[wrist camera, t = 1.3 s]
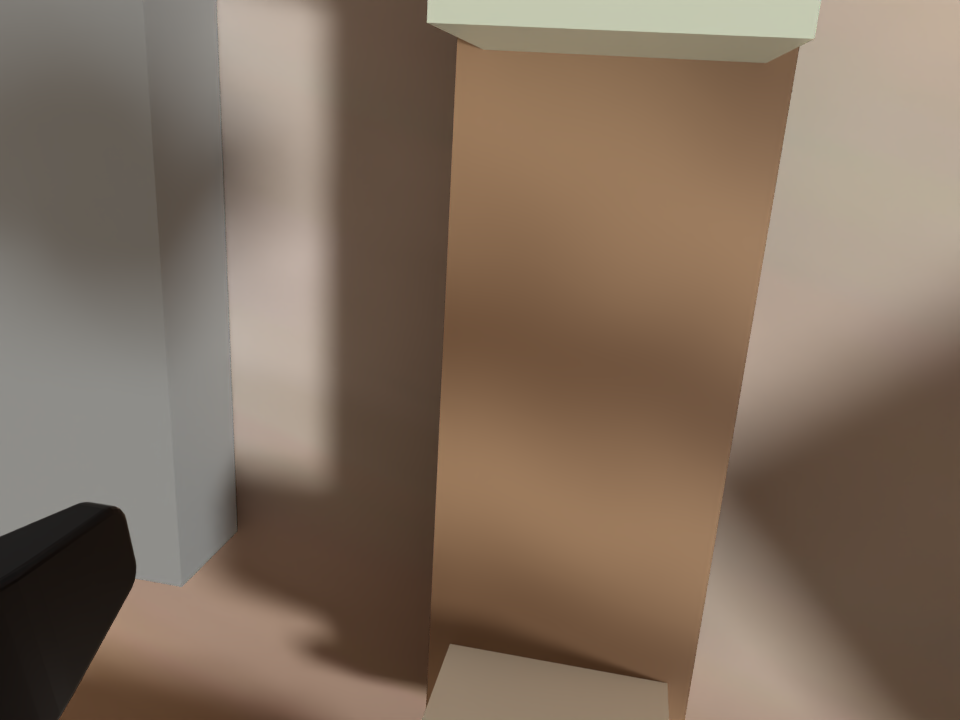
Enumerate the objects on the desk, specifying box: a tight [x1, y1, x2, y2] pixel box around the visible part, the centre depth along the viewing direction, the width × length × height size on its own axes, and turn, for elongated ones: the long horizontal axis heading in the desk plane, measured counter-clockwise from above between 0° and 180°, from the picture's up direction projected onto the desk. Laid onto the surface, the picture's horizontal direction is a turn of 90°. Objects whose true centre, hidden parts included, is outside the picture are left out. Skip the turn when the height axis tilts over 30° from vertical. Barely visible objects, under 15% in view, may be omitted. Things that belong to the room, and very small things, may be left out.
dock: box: [0, 0, 237, 587], centre depth 19 cm, size 22×10×3 cm, turn 177°
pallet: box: [426, 37, 799, 720], centre depth 17 cm, size 24×6×5 cm, turn 177°
